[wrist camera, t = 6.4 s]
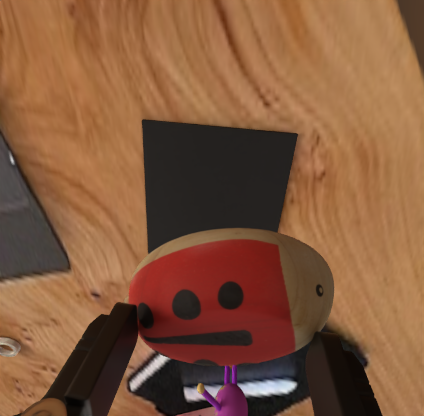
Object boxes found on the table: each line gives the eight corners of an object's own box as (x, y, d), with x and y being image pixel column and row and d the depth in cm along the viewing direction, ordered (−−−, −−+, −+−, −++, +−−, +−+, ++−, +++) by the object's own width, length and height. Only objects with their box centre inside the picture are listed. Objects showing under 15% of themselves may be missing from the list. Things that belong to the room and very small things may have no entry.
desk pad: (143, 119, 21) (141, 119, 21) (297, 133, 21) (298, 134, 20) (151, 303, 30) (150, 305, 30) (258, 318, 30) (258, 321, 29)
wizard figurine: (197, 331, 32) (173, 462, 21) (220, 323, 31) (207, 457, 20) (245, 385, 35) (244, 521, 25) (267, 380, 34) (276, 519, 24)
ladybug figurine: (333, 316, 14) (358, 387, 11) (158, 332, 16) (136, 395, 13) (320, 201, 11) (349, 251, 8) (112, 239, 13) (71, 290, 10)
